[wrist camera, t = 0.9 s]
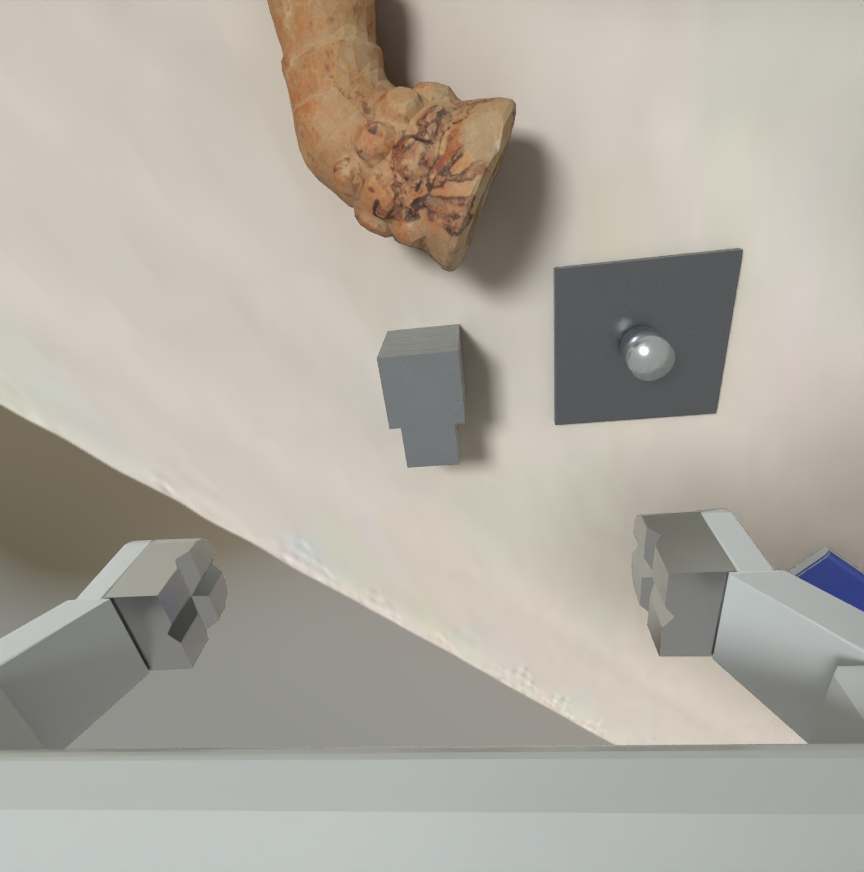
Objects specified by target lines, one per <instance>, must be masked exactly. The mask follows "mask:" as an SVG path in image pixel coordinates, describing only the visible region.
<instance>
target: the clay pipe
mask: <svg viewBox="0 0 864 872" xmlns="http://www.w3.org/2000/svg"><path fill="white" fill-rule="evenodd" d="M267 1H268V5H269V9H270V13H271V16H272V19H273V22H274V26H275V29H276V33H277V36H278V39H279V42H280V45H281V48H282V52H283V58H282V61H281V62H282V72H283V75H284V78H285V81H286V84H287V88H288V92H289V97H290V102H291V107H292V112H293V119H294V126H295V132H296V136H297V140H298V145H299V149H300V152H301V154H302V157H303V159H304V161H305V163H306V165H307V166H308V168H309V169H310V171H311V172H312V173H313V174H314V175H315V176H316V178H317V179H318V180H319V181H320V182H322V183H323V184H324V185H325V186H327V187H328V188H329V189H330V190H332V191H333V192H334V193H335V194H336V195H337V196H338V197H339V198H340V199H341V200H342V201H344V202H345V203H346V204H347V205H348V206H350V207H353V208H354V212H355V217H356V219H357V221H358V222H359V224H360V225H362V226H363V227H364V228H366V229H367V230H369V231H370V232H373V233H375V234H378V235H380V236H383V237H390V236H393V237H394V239H395V241H397V242H398V243H401V244H404V245H406V246H409V247H415V248H418V249H420V250H423V251H424V252H426V253H428V254H429V255H430V256H431V257H432V258H433V259H434V260H435V261H436V262H437V263H438V264H439V265H440V266H441V268H442V269H444V270H447V271H454V270H455V269H456V268H457V267H458V265H459V264H460V263H461V261H462V260H463V258H464V256H465V254H466V252H467V250H468V247H469V245H470V242H471V240H472V236H473V233H474V229H475V225H476V223H477V220H478V218H479V216H480V213H481V210H482V208H483V205H484V202H485V200H486V197H487V195H488V192H489V190H490V187H491V185H492V182H493V180H494V178H495V176H496V174H497V172H498V169H499V167H500V164H501V161H502V159H503V156H504V153H505V150H506V147H507V144H508V141H509V139H510V135H511V132H512V128H513V125H514V120H515V115H516V104H515V102H514V101H513V100H512V99H508V98H499V97H498V98H485V99H476V100H468V101H461V100H460V99H458V98H457V97H456V95H455V94H454V92H453V91H452V89H451V88H450V87H449V86H446V85H443V84H440V83H435V82H422V83H419V84H418V85H416V86H415V87H414V88H413V89H411V88H407V87H402V86H399V87H395V86H394V85H392V84H391V83H390V81H389V80H388V79H387V77H386V75H385V72H384V59H383V53H382V50H381V48H380V47H379V46H378V45H377V43H376V34H375V30H376V19H375V3H374V0H267Z"/></svg>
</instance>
